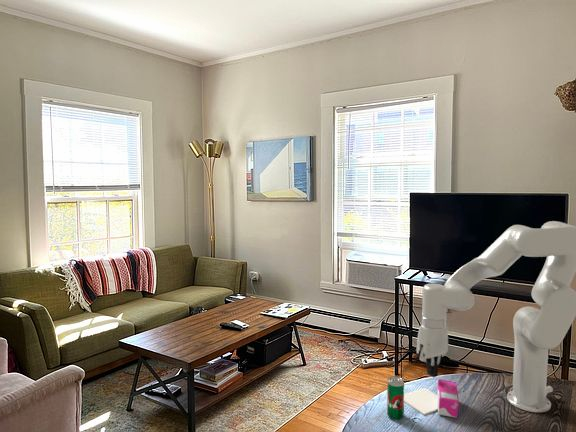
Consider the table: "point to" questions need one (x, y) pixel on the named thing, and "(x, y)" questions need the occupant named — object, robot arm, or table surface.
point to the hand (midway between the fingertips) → (432, 375)
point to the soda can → (395, 398)
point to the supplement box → (447, 398)
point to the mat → (422, 401)
